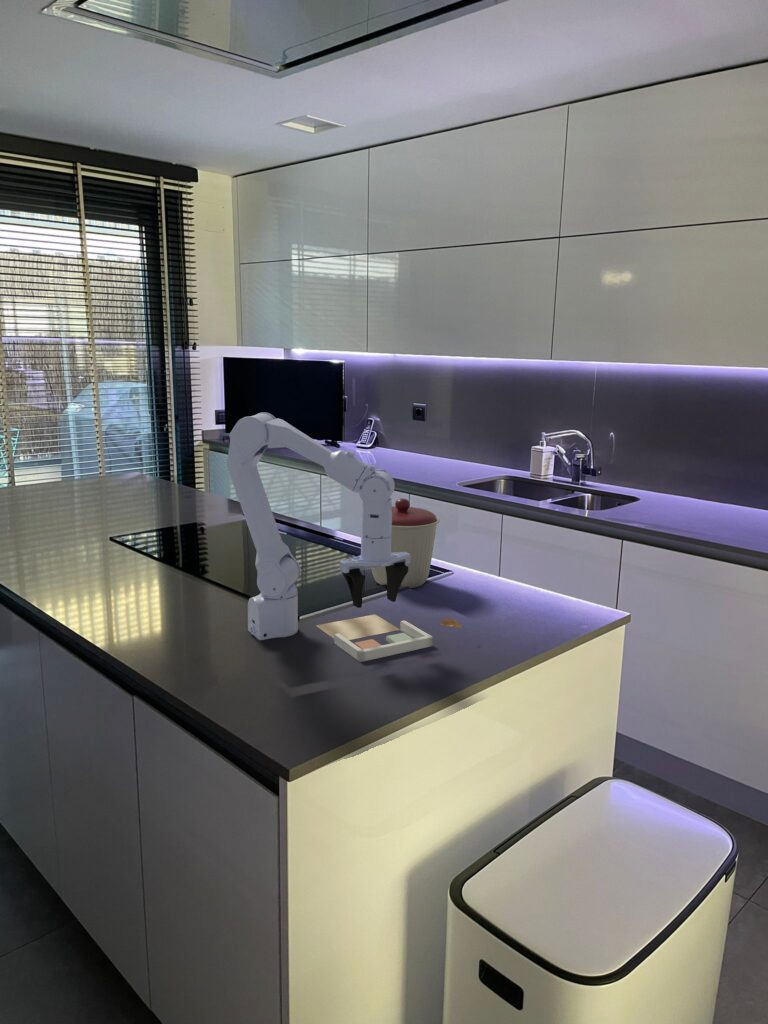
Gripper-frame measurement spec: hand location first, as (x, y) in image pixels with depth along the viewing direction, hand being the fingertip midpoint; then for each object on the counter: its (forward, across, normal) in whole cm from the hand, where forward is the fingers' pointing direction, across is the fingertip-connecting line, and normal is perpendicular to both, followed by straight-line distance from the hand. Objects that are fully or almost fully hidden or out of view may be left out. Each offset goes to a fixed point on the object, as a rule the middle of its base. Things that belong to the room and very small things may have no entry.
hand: (374, 603), depth 150 cm
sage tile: (+8, +4, -4) cm, 9 cm away
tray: (+8, 0, -3) cm, 9 cm away
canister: (+9, +25, +31) cm, 41 cm away
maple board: (+8, 0, +6) cm, 11 cm away
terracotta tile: (+8, -4, -4) cm, 10 cm away
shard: (+9, +18, +2) cm, 21 cm away
